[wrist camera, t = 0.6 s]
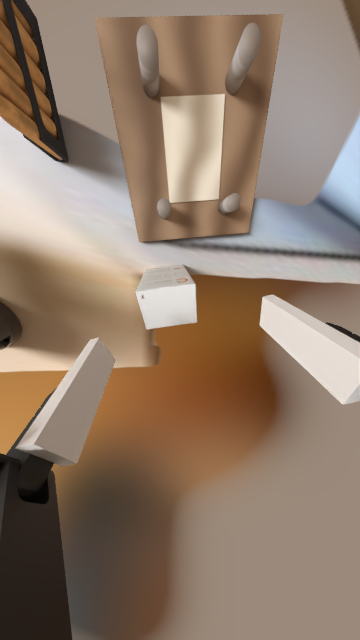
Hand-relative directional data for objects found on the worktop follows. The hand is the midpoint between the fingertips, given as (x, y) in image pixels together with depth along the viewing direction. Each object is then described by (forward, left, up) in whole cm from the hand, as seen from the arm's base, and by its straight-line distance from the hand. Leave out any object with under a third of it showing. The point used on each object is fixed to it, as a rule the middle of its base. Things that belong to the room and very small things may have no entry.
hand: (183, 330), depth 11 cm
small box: (-1, -2, -22) cm, 22 cm away
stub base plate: (+5, +16, -21) cm, 27 cm away
